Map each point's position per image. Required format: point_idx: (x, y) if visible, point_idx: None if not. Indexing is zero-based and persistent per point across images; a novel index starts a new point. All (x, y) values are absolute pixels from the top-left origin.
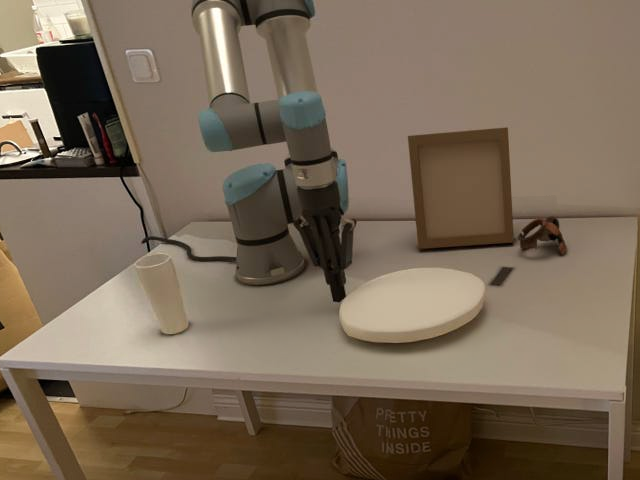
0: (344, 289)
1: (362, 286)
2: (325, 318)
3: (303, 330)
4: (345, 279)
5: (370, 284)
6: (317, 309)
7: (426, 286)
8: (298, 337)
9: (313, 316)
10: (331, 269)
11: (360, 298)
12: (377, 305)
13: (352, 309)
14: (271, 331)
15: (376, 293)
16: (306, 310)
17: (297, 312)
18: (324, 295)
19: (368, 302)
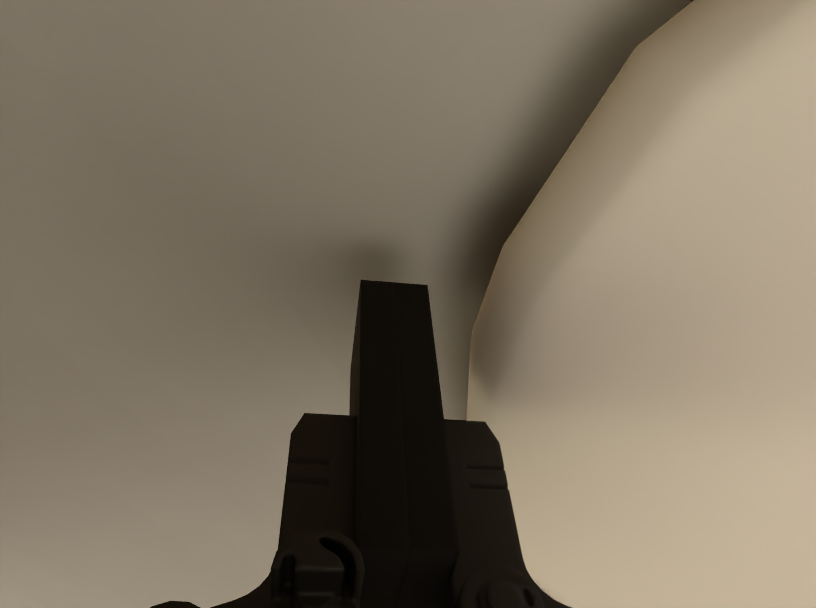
0: (431, 337)
1: (629, 338)
2: (324, 379)
3: (263, 486)
4: (501, 468)
5: (729, 355)
6: (187, 289)
7: None
8: (278, 530)
9: (222, 369)
10: (371, 605)
11: (663, 529)
12: (808, 604)
13: (618, 587)
14: (81, 511)
15: (807, 514)
16: (108, 310)
17: (60, 339)
18: (68, 51)
19: (737, 573)
